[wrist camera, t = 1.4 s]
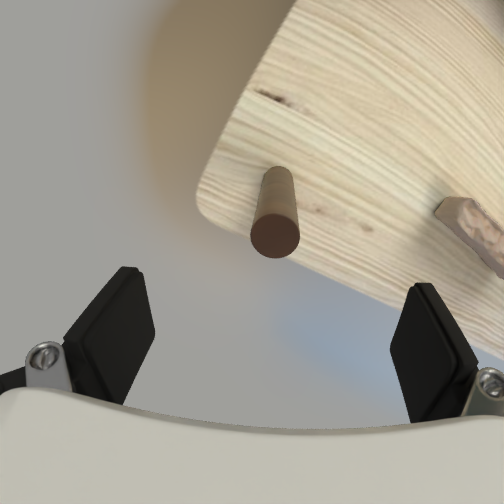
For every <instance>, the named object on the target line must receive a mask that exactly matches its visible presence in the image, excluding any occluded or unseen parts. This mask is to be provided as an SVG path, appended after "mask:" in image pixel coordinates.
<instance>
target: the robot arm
mask: <svg viewBox="0 0 504 504" xmlns="http://www.w3.org/2000/svg"><path fill="white" fill-rule="evenodd" d="M154 337H155V328H154V324H153V319H152V315H151V310H150V305H149V301H148V296H147V291H146V286H145V281H144V276H143V273H142V272H139V270H138V268H136V267H121V268H120V269H119V270H118V271H117V272H116V273H115V274H114V276H113V277H112V278H111V279H110V280H109V281H108V283H107V284H106V285H105V286H104V287H103V288H102V290H101V291H100V292H99V293H98V294H97V296H96V297H95V298H94V300H92V302H91V303H90V304H89V305H88V307H87V308H86V309H85V310H84V312H83V313H82V314H81V315H80V317H79V318H78V319H77V320H76V322H75V323H74V324H73V325H72V327H71V328H70V329H69V330H68V332H67V333H66V334H65V336H64V337H63V339H64V343H63V344H62V345H60V344H59V343H56V342H51V341H48V342H43V343H40V344H38V345H36V346H35V347H33V348H32V349H31V350H30V351H29V353H28V354H27V356H26V360H25V366H24V367H21V368H19V369H16V370H13V371H10V372H8V373H5V374H2V375H0V504H504V374H503V373H502V372H500V371H499V370H497V369H495V368H490V367H486V368H482V369H481V370H479V369H478V367H477V364H478V363H479V362H478V360H477V358H476V356H475V354H474V352H473V350H472V349H471V347H470V345H469V343H468V342H467V340H466V338H465V336H464V335H463V333H462V331H461V329H460V328H459V326H458V324H457V323H456V321H455V319H454V318H453V316H452V314H451V313H450V311H449V310H448V308H447V306H446V305H445V303H444V302H443V300H442V298H441V297H440V295H439V294H438V292H437V291H436V289H435V288H434V286H433V285H432V284H431V283H415V284H414V286H412V287H410V288H409V291H408V294H407V298H406V301H405V304H404V307H403V310H402V313H401V316H400V319H399V322H398V325H397V328H396V331H395V333H394V336H393V339H392V342H391V345H390V353H391V356H392V360H393V363H394V366H395V369H396V372H397V376H398V379H399V382H400V386H401V390H402V393H403V397H404V400H405V403H406V407H407V411H408V415H409V419H410V422H411V424H401V425H392V426H382V427H368V428H349V429H286V428H266V427H253V426H241V425H231V424H222V423H215V422H207V421H200V420H193V419H187V418H181V417H175V416H170V415H164V414H159V413H154V412H150V411H145V410H141V409H136V408H132V407H127V406H123V403H124V401H125V399H126V396H127V394H128V392H129V390H130V388H131V386H132V384H133V381H134V379H135V377H136V375H137V373H138V371H139V369H140V367H141V365H142V363H143V361H144V359H145V356H146V354H147V352H148V350H149V348H150V346H151V344H152V342H153V340H154Z"/></svg>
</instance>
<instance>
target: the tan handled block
mask: <svg viewBox="0 0 504 504" xmlns="http://www.w3.org/2000/svg"><path fill="white" fill-rule="evenodd" d="M435 216H436V217H437V219H438V220H440V221H441V222H443V223H444V224H445V225H446V226H448V227H449V228H450V229H451V230H452V231H453V232H454V233H455V234H456V235H457V236H458V237H460V238H461V239H462V240H463V241H464V242H465V243H466V244H467V245H469V246H470V247H471V248H472V249H474V250H475V251H476V252H477V253H478V254H479V255H480V257H481V259H482V260H483V261H484V262H485V263H486V264H487V265H488V266H489V267H490V268H491V269H493V270H494V272H495V273H496V274H497V276H498V277H499V278H502V279H503V280H504V230H503V229H502V227H501V226H500V225H499V224H498V223H497V222H496V221H495V220H494V219H492V218H491V217H490V216H489V215H487V213H486V211H485V210H484V209H483V208H481V206H480V204H479V203H478V202H477V201H475V200H474V199H472V198H464V197H447V198H445V199H444V201H443V202H442V204H441V205H440V206H439V208H438V209H437V210H436V211H435Z"/></svg>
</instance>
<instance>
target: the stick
mask: <svg viewBox="0 0 504 504" xmlns="http://www.w3.org/2000/svg"><path fill="white" fill-rule="evenodd" d="M250 237H251V242H252V244H253V246H254V248H255V249H256V250H257V251H258V252H259V253H260V254H262V255H264V256H266V257H269V258H282V257H285V256H287V255H289V254H291V253H292V252H293V251H294V250H295V249H296V247H297V246H298V244H299V240H300V231H299V223H298V215H297V206H296V199H295V191H294V183H293V177H292V174H291V173H290V172H289V170H287V169H286V168H284V167H280V166H276V167H272V168H270V169H269V170H268V171H267V172H266V173H265V175H264V178H263V183H262V187H261V191H260V195H259V199H258V203H257V208H256V212H255V216H254V220H253V224H252V229H251V234H250Z"/></svg>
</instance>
